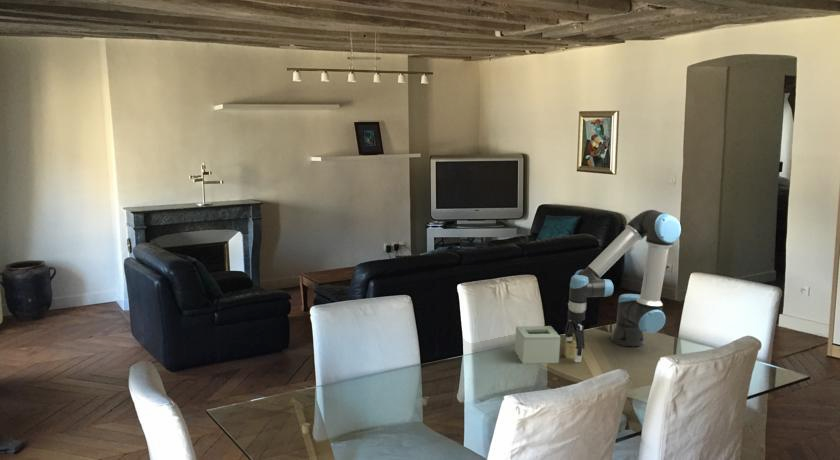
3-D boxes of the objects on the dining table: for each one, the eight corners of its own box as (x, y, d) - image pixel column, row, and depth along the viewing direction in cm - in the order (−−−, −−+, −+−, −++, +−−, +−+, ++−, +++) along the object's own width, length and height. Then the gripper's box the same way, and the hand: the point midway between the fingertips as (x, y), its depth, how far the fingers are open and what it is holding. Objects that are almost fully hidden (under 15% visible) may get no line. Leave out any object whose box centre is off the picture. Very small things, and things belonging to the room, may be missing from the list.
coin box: (548, 351, 327) (550, 326, 325) (558, 363, 314) (560, 337, 311) (514, 351, 325) (516, 326, 323) (522, 363, 312) (524, 337, 309)
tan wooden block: (579, 355, 323) (580, 340, 322) (581, 357, 321) (583, 343, 319) (564, 355, 323) (565, 340, 321) (566, 358, 320) (567, 343, 318)
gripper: (559, 301, 328) (556, 346, 333) (578, 319, 305) (573, 367, 309) (575, 301, 329) (572, 346, 334) (595, 319, 306) (590, 366, 310)
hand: (572, 356), depth 321 cm, fingers open, 12 cm apart
